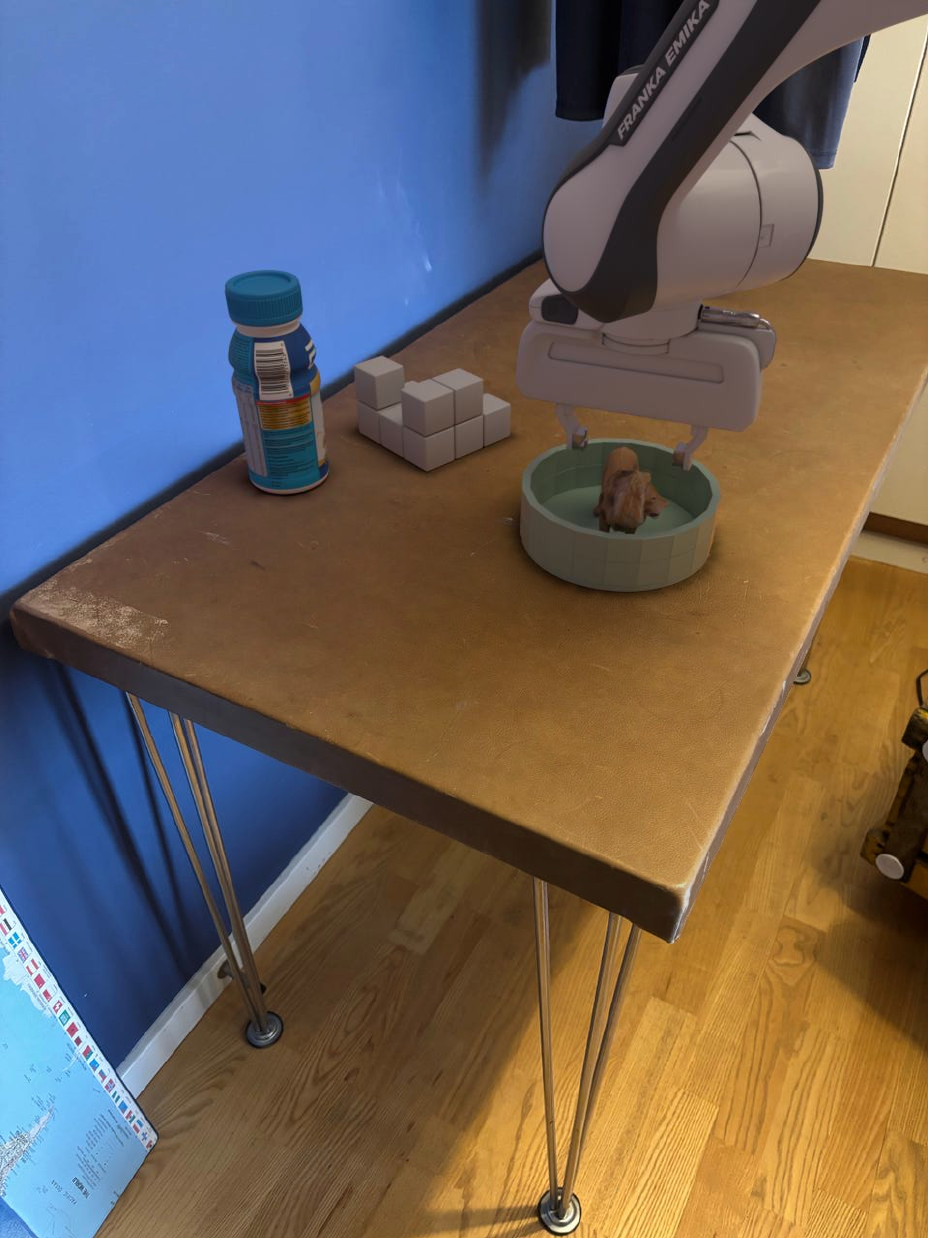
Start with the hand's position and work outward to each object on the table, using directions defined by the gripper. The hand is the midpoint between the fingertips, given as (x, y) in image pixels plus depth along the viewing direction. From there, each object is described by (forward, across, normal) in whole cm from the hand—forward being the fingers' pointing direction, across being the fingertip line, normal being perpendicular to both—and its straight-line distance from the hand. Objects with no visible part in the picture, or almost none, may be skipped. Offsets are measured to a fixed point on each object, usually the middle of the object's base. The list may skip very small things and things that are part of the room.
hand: (628, 457), depth 80 cm
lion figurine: (+8, 0, 0) cm, 8 cm away
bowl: (+8, +1, 0) cm, 8 cm away
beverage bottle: (+8, +35, +2) cm, 36 cm away
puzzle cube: (+8, +25, -12) cm, 29 cm away
